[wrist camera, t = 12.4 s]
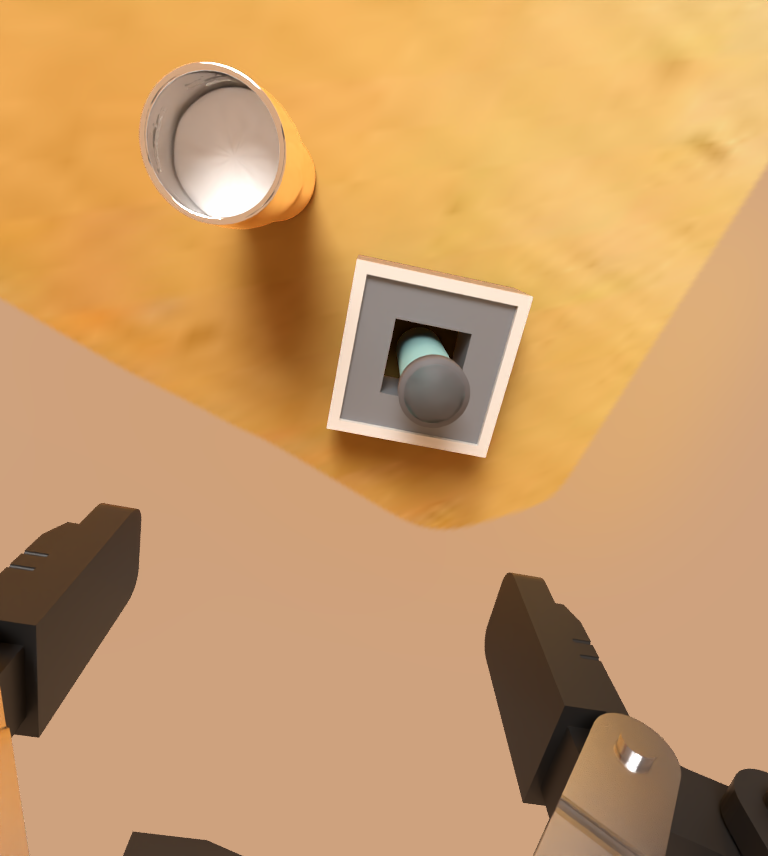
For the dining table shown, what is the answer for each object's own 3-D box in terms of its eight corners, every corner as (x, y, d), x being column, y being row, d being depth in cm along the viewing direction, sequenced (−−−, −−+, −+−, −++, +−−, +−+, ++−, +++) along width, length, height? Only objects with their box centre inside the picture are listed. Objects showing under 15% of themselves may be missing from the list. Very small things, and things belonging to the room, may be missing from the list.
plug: (450, 329, 42) (478, 367, 31) (438, 379, 43) (460, 433, 32) (398, 318, 42) (407, 352, 30) (387, 369, 43) (391, 420, 32)
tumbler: (203, 153, 37) (100, 110, 23) (288, 99, 36) (234, 19, 22) (258, 245, 40) (194, 257, 26) (340, 197, 39) (319, 181, 25)
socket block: (513, 288, 41) (533, 296, 36) (473, 431, 45) (485, 457, 40) (359, 254, 40) (357, 259, 35) (332, 404, 44) (326, 428, 39)
